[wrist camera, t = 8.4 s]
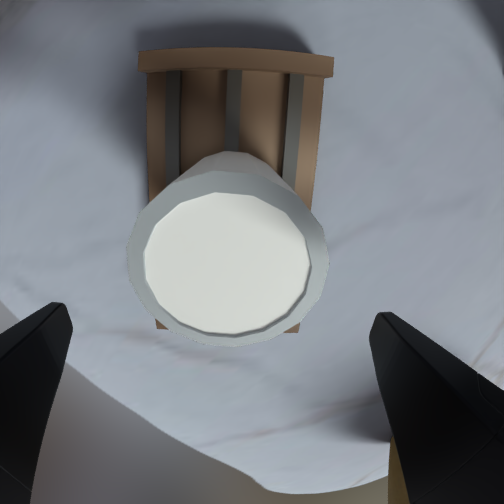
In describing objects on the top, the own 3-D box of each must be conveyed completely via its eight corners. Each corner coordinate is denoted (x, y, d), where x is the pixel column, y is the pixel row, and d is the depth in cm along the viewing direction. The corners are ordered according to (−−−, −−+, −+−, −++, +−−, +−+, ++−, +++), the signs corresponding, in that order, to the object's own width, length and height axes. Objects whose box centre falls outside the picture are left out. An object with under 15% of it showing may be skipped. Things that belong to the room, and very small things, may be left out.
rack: (154, 57, 14) (138, 51, 11) (319, 62, 14) (334, 57, 12) (164, 302, 21) (157, 328, 19) (292, 305, 22) (298, 332, 20)
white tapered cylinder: (178, 265, 18) (153, 352, 12) (157, 147, 15) (102, 187, 9) (297, 254, 18) (324, 340, 12) (293, 133, 15) (332, 162, 9)
